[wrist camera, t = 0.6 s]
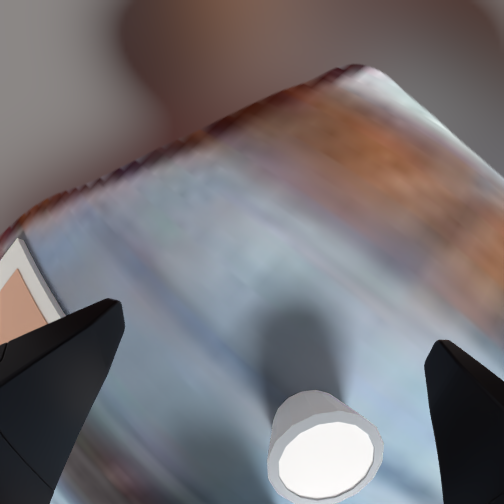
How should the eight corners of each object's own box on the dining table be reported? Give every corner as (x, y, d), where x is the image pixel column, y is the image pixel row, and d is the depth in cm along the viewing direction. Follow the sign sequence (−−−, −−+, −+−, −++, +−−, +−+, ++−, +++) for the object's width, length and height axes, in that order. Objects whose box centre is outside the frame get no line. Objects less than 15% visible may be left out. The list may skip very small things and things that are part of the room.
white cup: (298, 473, 20) (310, 523, 13) (245, 417, 21) (241, 458, 14) (368, 424, 21) (403, 460, 14) (320, 364, 22) (345, 386, 15)
